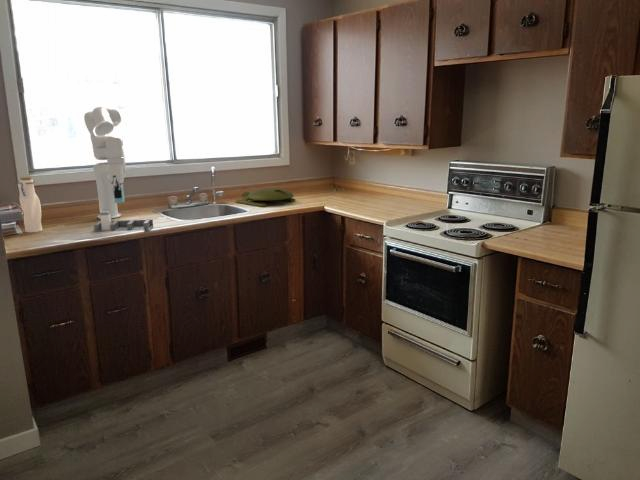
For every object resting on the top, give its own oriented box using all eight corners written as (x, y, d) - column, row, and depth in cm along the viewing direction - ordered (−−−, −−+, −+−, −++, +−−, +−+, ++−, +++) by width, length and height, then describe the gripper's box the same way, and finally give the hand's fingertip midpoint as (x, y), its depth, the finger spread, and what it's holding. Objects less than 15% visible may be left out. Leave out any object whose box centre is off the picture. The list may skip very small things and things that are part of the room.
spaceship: (233, 203, 341) (233, 188, 338) (268, 197, 363) (267, 183, 360) (269, 209, 318) (268, 193, 315) (303, 202, 340) (303, 188, 337)
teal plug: (116, 201, 262) (114, 183, 260) (124, 201, 263) (122, 183, 261) (114, 202, 258) (112, 185, 256) (122, 202, 259) (121, 184, 257)
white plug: (104, 228, 265) (101, 211, 262) (112, 227, 265) (110, 210, 263) (101, 229, 261) (99, 212, 258) (110, 229, 261) (108, 212, 259)
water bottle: (41, 232, 261) (33, 178, 254) (21, 234, 259) (13, 178, 252) (45, 228, 271) (38, 175, 264) (26, 229, 268) (18, 176, 261)
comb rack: (98, 228, 268) (97, 221, 267) (153, 226, 272) (152, 219, 271) (91, 234, 257) (90, 226, 256) (149, 231, 260) (148, 223, 259)
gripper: (111, 160, 263) (115, 195, 268) (103, 163, 247) (107, 200, 251) (126, 159, 264) (130, 194, 269) (119, 162, 248) (123, 199, 252)
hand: (119, 197), depth 260 cm, fingers closed on teal plug, 4 cm apart
